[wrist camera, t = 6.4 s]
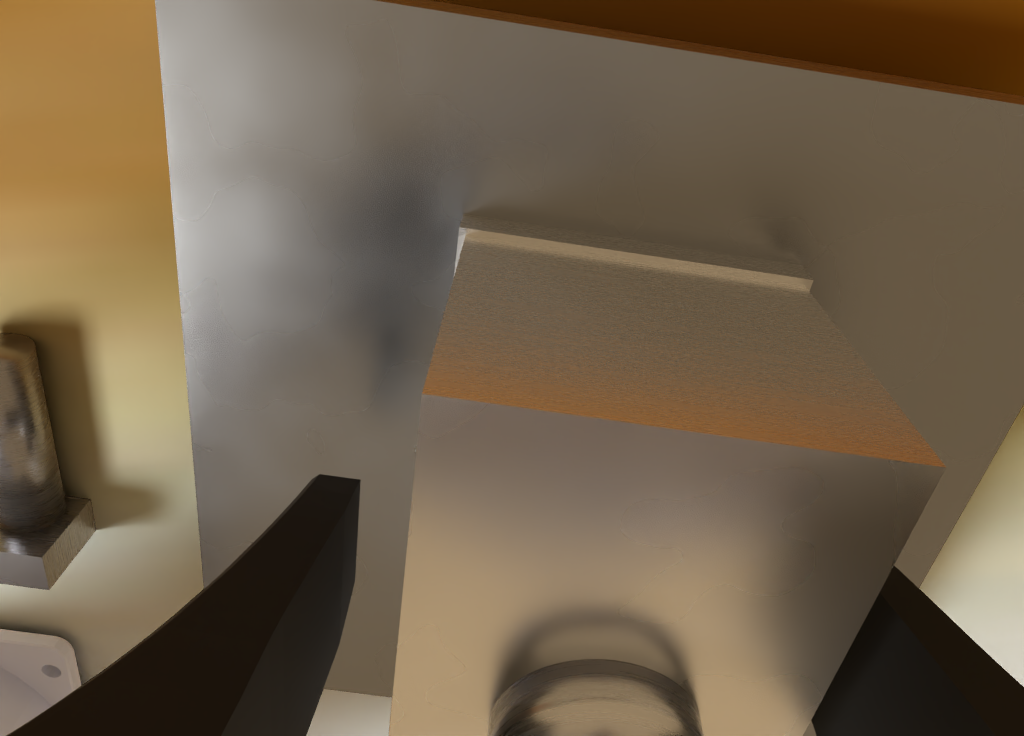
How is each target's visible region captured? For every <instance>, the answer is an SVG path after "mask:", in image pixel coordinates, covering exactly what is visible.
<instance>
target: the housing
mask: <svg viewBox="0 0 1024 736" xmlns="http://www.w3.org/2000/svg"><path fill="white" fill-rule="evenodd" d="M812 283H813V279H812V278H811V276H810V275H809V274H808V273H807V271H806V270H805V269H804V268H803V266H802V265H798V264H792V263H785V262H778V261H772V260H765V259H758V258H752V257H745V256H738V255H732V254H725V253H718V252H712V251H705V250H698V249H692V248H685V247H678V246H672V245H665V244H658V243H652V242H645V241H638V240H632V239H625V238H619V237H612V236H605V235H599V234H592V233H585V232H579V231H572V230H565V229H559V228H552V227H545V226H539V225H532V224H525V223H519V222H512V221H505V220H499V219H492V218H485V217H479V216H472V215H465V214H463V217H462V220H461V223H460V227H459V235H458V244H457V253H456V262H455V270H454V279H453V282H452V286H451V290H450V293H449V297H448V301H447V304H446V308H445V312H444V315H443V319H442V323H441V326H440V330H439V334H438V337H437V341H436V345H435V348H434V352H433V355H432V359H431V363H430V366H429V370H428V374H427V377H426V381H425V385H424V388H423V392H422V399H421V409H420V420H419V430H418V440H417V450H416V461H415V471H414V481H413V491H412V502H411V512H410V522H409V532H408V543H407V553H406V563H405V573H404V583H403V594H402V604H401V614H400V624H399V635H398V645H397V655H396V665H395V676H394V686H393V696H392V706H391V717H390V727H389V736H803V734H804V732H805V731H806V729H807V727H808V725H809V723H810V721H811V719H812V717H813V716H814V714H815V712H816V710H817V708H818V706H819V704H820V703H821V701H822V699H823V697H824V695H825V693H826V691H827V689H828V688H829V686H830V684H831V682H832V680H833V678H834V676H835V675H836V673H837V671H838V669H839V667H840V665H841V663H842V661H843V660H844V658H845V656H846V654H847V652H848V650H849V648H850V647H851V645H852V643H853V641H854V639H855V637H856V635H857V633H858V632H859V630H860V628H861V626H862V624H863V622H864V620H865V619H866V617H867V615H868V613H869V611H870V609H871V607H872V605H873V604H874V602H875V600H876V598H877V596H878V594H879V592H880V590H881V589H882V587H883V585H884V583H885V581H886V579H887V577H888V576H889V574H890V572H891V570H892V568H893V566H894V564H895V562H896V561H897V559H898V557H899V555H900V553H901V551H902V549H903V548H904V546H905V544H906V542H907V540H908V538H909V536H910V534H911V533H912V531H913V529H914V527H915V525H916V523H917V521H918V520H919V518H920V516H921V514H922V512H923V510H924V508H925V506H926V505H927V503H928V501H929V499H930V497H931V495H932V493H933V492H934V490H935V488H936V486H937V484H938V482H939V480H940V478H941V477H942V475H943V473H944V471H945V469H946V466H945V465H944V464H943V463H942V461H941V460H940V459H939V457H938V456H937V455H936V454H935V452H934V451H933V450H932V448H931V447H930V446H929V445H928V443H927V442H926V441H925V439H924V438H923V437H922V436H921V434H920V433H919V432H918V430H917V429H916V428H915V427H914V425H913V424H912V423H911V421H910V420H909V419H908V418H907V416H906V415H905V414H904V412H903V411H902V410H901V409H900V407H899V406H898V405H897V403H896V402H895V401H894V400H893V398H892V397H891V396H890V394H889V393H888V392H887V391H886V389H885V388H884V387H883V385H882V384H881V383H880V382H879V380H878V379H877V378H876V376H875V375H874V374H873V373H872V371H871V370H870V369H869V367H868V366H867V365H866V364H865V362H864V361H863V360H862V358H861V357H860V356H859V355H858V353H857V352H856V351H855V349H854V348H853V347H852V346H851V344H850V343H849V342H848V340H847V339H846V338H845V337H844V335H843V334H842V333H841V331H840V330H839V329H838V328H837V326H836V325H835V324H834V322H833V321H832V320H831V319H830V317H829V316H828V315H827V313H826V312H825V311H824V310H823V308H822V307H821V306H820V304H819V303H818V302H817V301H816V299H815V298H814V297H813V295H812V294H811V293H810V292H809V291H810V289H811V286H812Z"/></svg>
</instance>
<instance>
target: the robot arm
mask: <svg viewBox="0 0 1024 736" xmlns="http://www.w3.org/2000/svg"><path fill="white" fill-rule="evenodd" d="M360 483H361V480H360V479H352V478H345V477H338V476H330V475H323V474H319V475H317V476H316V477H314V478H313V479H311V481H310V482H309V483H308V484H307V485H306V486H305V488H304V489H303V490H302V491H301V492H300V493H299V494H298V496H297V497H296V498H295V499H294V500H293V501H292V502H291V503H290V505H289V506H288V507H287V508H286V509H285V510H284V511H283V512H282V513H281V514H280V515H279V517H278V518H277V519H276V520H275V521H274V522H273V523H272V524H271V525H270V526H269V527H268V528H267V529H266V530H265V531H264V532H263V533H262V534H261V535H260V536H259V537H258V538H257V539H256V540H255V541H254V542H253V543H252V544H251V545H250V546H249V547H248V548H247V549H246V550H245V551H244V552H243V553H242V554H241V555H240V556H239V557H238V558H237V559H236V560H235V561H234V562H233V563H232V564H231V565H230V566H229V567H228V568H227V569H226V570H224V571H223V572H222V573H221V574H220V575H219V576H218V577H217V578H216V579H215V580H214V581H212V582H211V583H210V584H209V585H208V586H207V587H206V588H204V589H203V590H202V591H201V592H200V593H199V594H198V595H197V596H195V597H194V598H193V599H192V600H191V601H190V602H189V603H187V604H186V605H185V606H184V607H183V608H182V609H181V610H180V611H178V612H177V613H176V614H175V615H174V616H173V617H171V618H170V619H169V620H168V621H166V622H165V623H164V624H163V625H162V626H160V627H159V628H158V629H157V630H155V631H154V632H153V633H152V634H150V635H149V636H148V637H147V638H145V639H144V640H143V641H142V642H140V643H139V644H138V645H136V646H135V647H134V648H133V649H131V650H130V651H129V652H127V653H126V654H125V655H123V656H122V657H121V658H119V659H118V660H117V661H115V662H114V663H113V664H111V665H110V666H109V667H107V668H106V669H105V670H103V671H102V672H100V673H99V674H97V675H96V676H95V677H93V678H92V679H90V680H89V681H87V682H86V683H85V684H83V685H81V681H80V676H79V671H78V667H77V662H76V657H75V653H74V649H73V647H72V645H71V644H70V643H69V642H68V641H67V640H65V639H63V638H61V637H57V636H52V635H44V634H36V633H28V632H21V631H13V630H5V629H0V736H306V734H307V732H308V729H309V726H310V724H311V721H312V718H313V715H314V713H315V710H316V707H317V705H318V702H319V699H320V696H321V694H322V691H323V688H324V686H325V683H326V680H327V677H328V675H329V672H330V669H331V666H332V664H333V661H334V658H335V655H336V652H337V650H338V647H339V644H340V640H341V636H342V632H343V628H344V624H345V620H346V616H347V612H348V608H349V604H350V600H351V596H352V592H353V587H354V583H355V574H356V556H357V538H358V519H359V501H360ZM811 721H812V724H813V727H814V730H815V733H816V736H1024V687H1023V686H1022V685H1021V684H1020V683H1019V682H1017V681H1016V680H1015V679H1014V678H1013V677H1012V676H1011V675H1010V674H1009V673H1008V672H1007V671H1005V670H1004V669H1003V668H1002V667H1001V666H1000V665H999V664H998V663H997V662H996V661H995V660H994V659H992V658H991V657H990V656H989V655H988V654H987V653H986V652H985V651H984V650H983V649H982V648H981V647H980V646H979V645H978V644H976V643H975V642H974V641H973V640H972V639H971V638H970V637H969V636H968V635H967V634H966V633H965V632H964V631H963V630H962V629H961V628H960V627H959V626H958V625H957V624H955V623H954V622H953V621H952V620H951V619H950V618H949V617H948V616H947V615H946V614H945V613H944V612H943V611H942V610H941V609H940V608H939V607H938V606H937V605H936V604H935V603H934V602H933V601H931V600H930V599H929V598H928V597H927V596H926V595H925V594H924V593H923V592H922V591H921V590H920V589H919V588H918V587H917V586H916V585H915V584H914V583H913V582H912V581H910V580H909V579H908V578H907V577H906V576H905V575H904V574H903V573H902V572H901V571H900V570H899V569H898V568H896V567H895V566H893V568H892V570H891V572H890V574H889V576H888V577H887V579H886V581H885V583H884V585H883V587H882V589H881V590H880V592H879V594H878V596H877V598H876V600H875V602H874V604H873V605H872V607H871V609H870V611H869V613H868V615H867V617H866V619H865V620H864V622H863V624H862V626H861V628H860V630H859V632H858V633H857V635H856V637H855V639H854V641H853V643H852V645H851V647H850V648H849V650H848V652H847V654H846V656H845V658H844V660H843V661H842V663H841V665H840V667H839V669H838V671H837V673H836V675H835V676H834V678H833V680H832V682H831V684H830V686H829V688H828V689H827V691H826V693H825V695H824V697H823V699H822V701H821V703H820V704H819V706H818V708H817V710H816V712H815V714H814V716H813V717H812V719H811Z"/></svg>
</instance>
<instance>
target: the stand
mask: <svg viewBox="0 0 1024 736" xmlns="http://www.w3.org/2000/svg"><path fill="white" fill-rule="evenodd" d="M155 5H156V17H157V29H158V41H159V53H160V65H161V77H162V89H163V101H164V113H165V125H166V137H167V149H168V161H169V173H170V185H171V197H172V209H173V221H174V233H175V245H176V257H177V270H178V282H179V294H180V306H181V318H182V330H183V342H184V354H185V366H186V378H187V390H188V402H189V414H190V426H191V438H192V450H193V462H194V474H195V486H196V498H197V510H198V522H199V534H200V546H201V558H202V570H203V582H204V588H206V587H207V586H208V585H209V584H210V583H211V582H212V581H214V580H215V579H216V578H217V577H218V576H219V575H220V574H221V573H222V572H223V571H224V570H226V569H227V568H228V567H229V566H230V565H231V564H232V563H233V562H234V561H235V560H236V559H237V558H238V557H239V556H240V555H241V554H242V553H243V552H244V551H245V550H246V549H247V548H248V547H249V546H250V545H251V544H252V543H253V542H254V541H255V540H256V539H257V538H258V537H259V536H260V535H261V534H262V533H263V532H264V531H265V530H266V529H267V528H268V527H269V526H270V525H271V524H272V523H273V522H274V521H275V520H276V519H277V518H278V517H279V515H280V514H281V513H282V512H283V511H284V510H285V509H286V508H287V507H288V506H289V505H290V503H291V502H292V501H293V500H294V499H295V498H296V497H297V496H298V494H299V493H300V492H301V491H302V490H303V489H304V488H305V486H306V485H307V484H308V483H309V482H310V481H311V479H313V478H314V477H316V476H317V475H319V474H323V475H330V476H338V477H345V478H352V479H360V480H361V483H360V501H359V519H358V538H357V556H356V574H355V583H354V587H353V592H352V596H351V600H350V604H349V608H348V612H347V616H346V620H345V624H344V628H343V632H342V636H341V640H340V644H339V647H338V650H337V652H336V655H335V658H334V661H333V664H332V666H331V669H330V672H329V675H328V677H327V680H326V683H325V686H324V688H323V689H330V690H338V691H346V692H354V693H362V694H370V695H378V696H386V697H392V696H393V686H394V676H395V665H396V655H397V645H398V635H399V624H400V614H401V604H402V594H403V583H404V573H405V563H406V553H407V543H408V532H409V522H410V512H411V502H412V491H413V481H414V471H415V461H416V450H417V440H418V430H419V420H420V409H421V399H422V392H423V388H424V385H425V381H426V377H427V374H428V370H429V366H430V363H431V359H432V355H433V352H434V348H435V345H436V341H437V337H438V334H439V330H440V326H441V323H442V319H443V315H444V312H445V308H446V304H447V301H448V297H449V293H450V290H451V286H452V282H453V279H454V270H455V262H456V253H457V244H458V235H459V227H460V223H461V220H462V217H463V214H465V215H472V216H479V217H485V218H492V219H499V220H505V221H512V222H519V223H525V224H532V225H539V226H545V227H552V228H559V229H565V230H572V231H579V232H585V233H592V234H599V235H605V236H612V237H619V238H625V239H632V240H638V241H645V242H652V243H658V244H665V245H672V246H678V247H685V248H692V249H698V250H705V251H712V252H718V253H725V254H732V255H738V256H745V257H752V258H758V259H765V260H772V261H778V262H785V263H792V264H798V265H802V266H803V268H804V269H805V270H806V271H807V273H808V274H809V275H810V276H811V278H812V279H813V283H812V286H811V289H810V291H809V292H810V293H811V294H812V295H813V297H814V298H815V299H816V301H817V302H818V303H819V304H820V306H821V307H822V308H823V310H824V311H825V312H826V313H827V315H828V316H829V317H830V319H831V320H832V321H833V322H834V324H835V325H836V326H837V328H838V329H839V330H840V331H841V333H842V334H843V335H844V337H845V338H846V339H847V340H848V342H849V343H850V344H851V346H852V347H853V348H854V349H855V351H856V352H857V353H858V355H859V356H860V357H861V358H862V360H863V361H864V362H865V364H866V365H867V366H868V367H869V369H870V370H871V371H872V373H873V374H874V375H875V376H876V378H877V379H878V380H879V382H880V383H881V384H882V385H883V387H884V388H885V389H886V391H887V392H888V393H889V394H890V396H891V397H892V398H893V400H894V401H895V402H896V403H897V405H898V406H899V407H900V409H901V410H902V411H903V412H904V414H905V415H906V416H907V418H908V419H909V420H910V421H911V423H912V424H913V425H914V427H915V428H916V429H917V430H918V432H919V433H920V434H921V436H922V437H923V438H924V439H925V441H926V442H927V443H928V445H929V446H930V447H931V448H932V450H933V451H934V452H935V454H936V455H937V456H938V457H939V459H940V460H941V461H942V463H943V464H944V465H945V466H946V469H945V471H944V473H943V475H942V477H941V478H940V480H939V482H938V484H937V486H936V488H935V490H934V492H933V493H932V495H931V497H930V499H929V501H928V503H927V505H926V506H925V508H924V510H923V512H922V514H921V516H920V518H919V520H918V521H917V523H916V525H915V527H914V529H913V531H912V533H911V534H910V536H909V538H908V540H907V542H906V544H905V546H904V548H903V549H902V551H901V553H900V555H899V557H898V559H897V561H896V562H895V564H894V566H895V567H896V568H898V569H899V570H900V571H901V572H902V573H903V574H904V575H905V576H906V577H907V578H908V579H909V580H910V581H912V582H913V583H914V584H915V585H916V586H917V587H918V588H919V587H920V585H921V583H922V582H923V580H924V578H925V576H926V575H927V573H928V571H929V569H930V568H931V566H932V564H933V562H934V561H935V559H936V557H937V555H938V554H939V552H940V550H941V548H942V547H943V545H944V543H945V541H946V540H947V538H948V536H949V534H950V533H951V531H952V529H953V527H954V526H955V524H956V522H957V520H958V519H959V517H960V515H961V513H962V512H963V510H964V508H965V506H966V505H967V503H968V501H969V499H970V498H971V496H972V494H973V492H974V491H975V489H976V487H977V485H978V484H979V482H980V480H981V478H982V476H983V475H984V473H985V471H986V469H987V468H988V466H989V464H990V462H991V461H992V459H993V457H994V455H995V454H996V452H997V450H998V448H999V447H1000V445H1001V443H1002V441H1003V440H1004V438H1005V436H1006V434H1007V433H1008V431H1009V429H1010V427H1011V426H1012V424H1013V422H1014V420H1015V419H1016V417H1017V415H1018V413H1019V412H1020V410H1021V408H1022V406H1023V405H1024V96H1020V95H1013V94H1007V93H1001V92H995V91H989V90H982V89H976V88H970V87H964V86H958V85H952V84H945V83H939V82H933V81H927V80H921V79H914V78H908V77H902V76H896V75H890V74H884V73H877V72H871V71H865V70H859V69H853V68H846V67H840V66H834V65H828V64H822V63H815V62H809V61H803V60H797V59H791V58H785V57H778V56H772V55H766V54H760V53H754V52H747V51H741V50H735V49H729V48H723V47H717V46H710V45H704V44H698V43H692V42H686V41H679V40H673V39H667V38H661V37H655V36H648V35H642V34H636V33H630V32H624V31H618V30H611V29H605V28H599V27H593V26H587V25H580V24H574V23H568V22H562V21H556V20H549V19H543V18H537V17H531V16H525V15H519V14H512V13H506V12H500V11H494V10H488V9H481V8H475V7H469V6H463V5H457V4H451V3H444V2H438V1H432V0H155ZM803 736H816V733H815V730H814V727H813V724H812V721H810V723H809V725H808V727H807V729H806V731H805V732H804V734H803Z"/></svg>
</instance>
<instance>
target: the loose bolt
mask: <svg viewBox="0 0 1024 736" xmlns="http://www.w3.org/2000/svg"><path fill="white" fill-rule="evenodd" d="M95 531H96V527H95V521H94V515H93V509H92V504H91V499H84V498H77V497H70V496H64V491H63V486H62V481H61V476H60V471H59V465H58V460H57V455H56V450H55V445H54V440H53V435H52V429H51V424H50V419H49V414H48V409H47V404H46V399H45V393H44V388H43V383H42V378H41V373H40V368H39V363H38V357H37V352H36V347H35V343H34V341H33V340H32V339H31V338H29V337H27V336H24V335H20V334H13V333H0V583H1V584H8V585H16V586H23V587H30V588H38V589H45V590H50V589H51V587H52V586H53V585H54V583H55V582H56V581H57V580H58V578H59V577H60V576H61V574H62V573H63V572H64V571H65V569H66V568H67V567H68V566H69V564H70V563H71V562H72V560H73V559H74V558H75V557H76V555H77V554H78V553H79V552H80V550H81V549H82V548H83V546H84V545H85V544H86V543H87V541H88V540H89V539H90V538H91V536H92V535H93V534H94V532H95Z"/></svg>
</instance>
